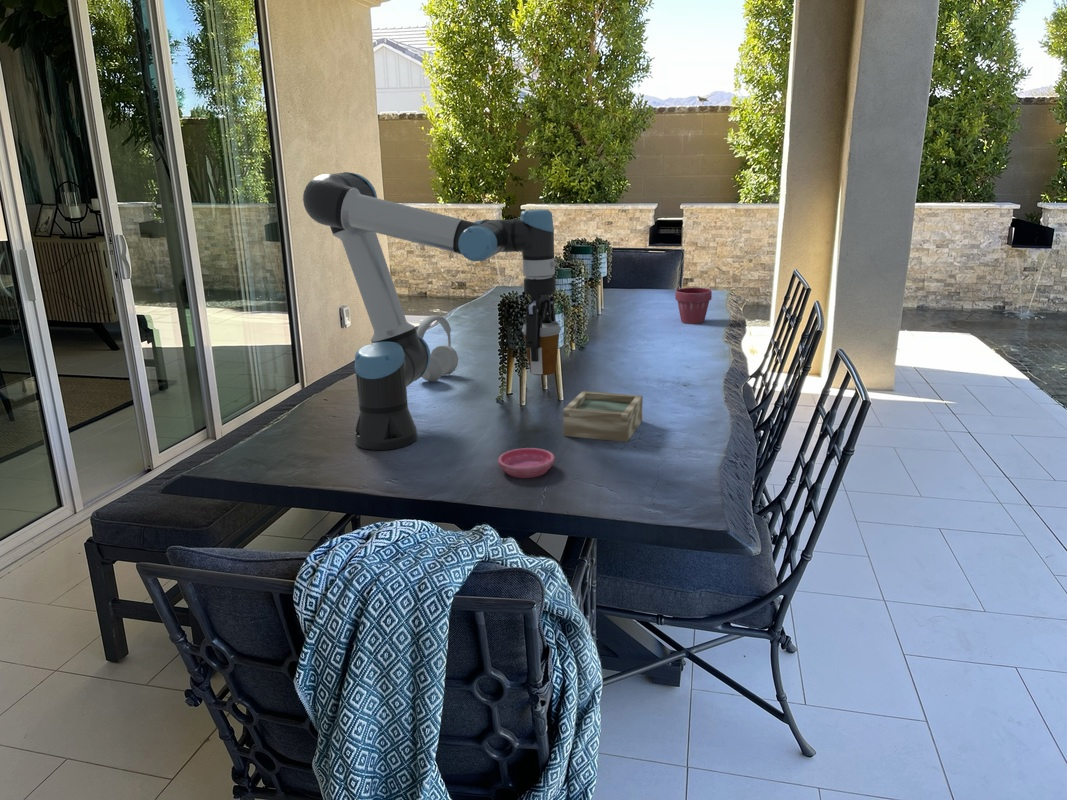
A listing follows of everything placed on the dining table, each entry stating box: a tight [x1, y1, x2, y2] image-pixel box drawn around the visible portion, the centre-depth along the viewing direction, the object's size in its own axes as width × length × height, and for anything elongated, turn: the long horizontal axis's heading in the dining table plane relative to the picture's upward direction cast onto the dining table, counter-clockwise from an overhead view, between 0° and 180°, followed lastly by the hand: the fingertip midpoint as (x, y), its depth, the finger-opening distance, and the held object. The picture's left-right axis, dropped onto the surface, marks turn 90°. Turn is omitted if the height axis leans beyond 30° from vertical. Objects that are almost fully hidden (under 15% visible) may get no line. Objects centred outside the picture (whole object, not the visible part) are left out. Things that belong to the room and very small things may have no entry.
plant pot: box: [674, 287, 713, 325], centre depth 318 cm, size 14×14×13 cm
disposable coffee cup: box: [521, 321, 562, 376], centre depth 195 cm, size 10×10×12 cm
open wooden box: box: [562, 390, 643, 443], centre depth 200 cm, size 16×16×7 cm
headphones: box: [416, 314, 459, 383], centre depth 246 cm, size 19×9×20 cm, turn 154°
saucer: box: [497, 447, 556, 479], centre depth 176 cm, size 12×12×3 cm
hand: (543, 369), depth 196 cm, fingers closed on disposable coffee cup, 8 cm apart
